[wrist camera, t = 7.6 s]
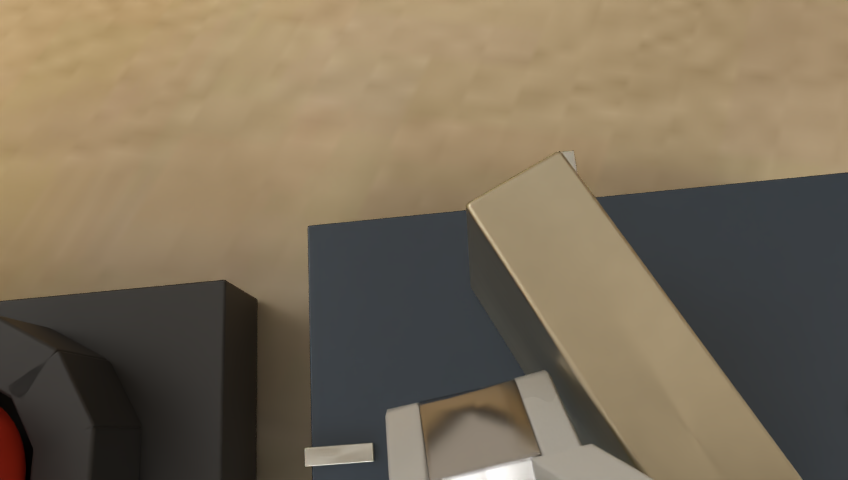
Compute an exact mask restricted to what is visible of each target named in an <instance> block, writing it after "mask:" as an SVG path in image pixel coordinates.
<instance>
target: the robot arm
mask: <svg viewBox="0 0 848 480" xmlns="http://www.w3.org/2000/svg"><path fill="white" fill-rule="evenodd" d="M385 420H386V437H387V454H388V471H389V480H654V479H652V478H651V477H649V476H647V475H645V474H644V473H642V472H640V471H639V470H637V469H635V468H634V467H632V466H630V465H628V464H627V463H625V462H623V461H622V460H620V459H618V458H616V457H615V456H613V455H611V454H610V453H608V452H606V451H604V450H603V449H601V448H599V447H598V446H596V445H594V444H587V445H583V446H582V444H581V442H580V440H579V438H578V436H577V433H576V431H575V429H574V427H573V425H572V422H571V420H570V418H569V416H568V414H567V411H566V409H565V407H564V405H563V403H562V400H561V398H560V396H559V394H558V392H557V389H556V387H555V385H554V383H553V380H552V378H551V376H550V374H549V373H548V372H547V371H546V370H543V371H539V372H535V373H532V374H528V375H524V376H521V377H517V378H514V380H513V379H512V380H509V381H505V382H501V383H497V384H493V385H489V386H485V387H481V388H477V389H473V390H468V391H464V392H459V393H455V394H451V395H446V396H442V397H437V398H433V399H428V400H424V401H420V403H413V404H409V405H404V406H400V407H396V408H391V409H387V412H386V416H385Z"/></svg>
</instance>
